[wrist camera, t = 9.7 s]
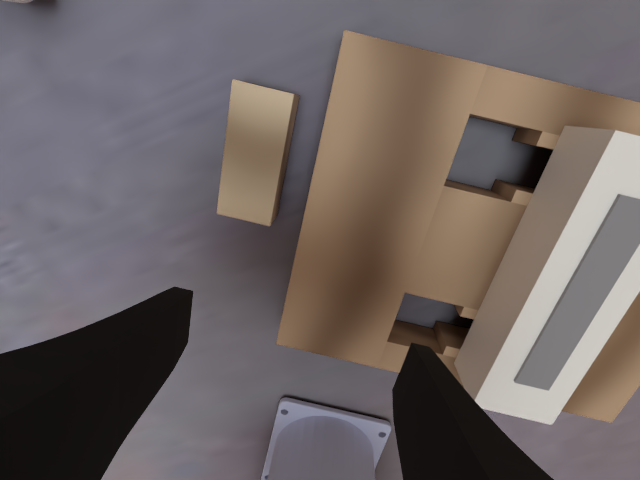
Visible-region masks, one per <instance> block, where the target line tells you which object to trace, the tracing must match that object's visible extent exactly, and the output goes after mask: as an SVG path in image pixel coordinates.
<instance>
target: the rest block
mask: <svg viewBox="0 0 640 480" xmlns="http://www.w3.org/2000/svg"><path fill="white" fill-rule="evenodd" d="M299 97H300V95H296V94H292V93H288V92H284V91H280V90H276V89H271V88H267V87H263V86H259V85H255V84H251V83H247V82H242V81H238V80H234V79H232V88H231V96H230V105H229V113H228V121H227V130H226V138H225V147H224V155H223V164H222V172H221V181H220V189H219V197H218V206H217V214H220V215H224V216H228V217H233V218H237V219H241V220H245V221H249V222H254V223H258V224H262V225H266V226H271V224H272V222H273V221H274V219H275V218H276V216H277V214H278V209H279V204H280V198H281V193H282V188H283V182H284V177H285V172H286V166H287V161H288V156H289V150H290V145H291V140H292V134H293V129H294V124H295V118H296V113H297V108H298V102H299Z"/></svg>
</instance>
